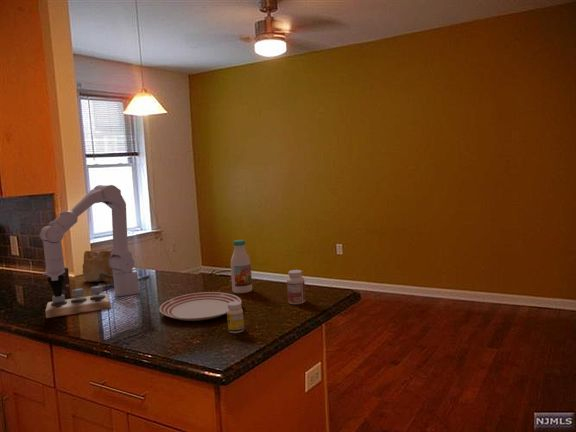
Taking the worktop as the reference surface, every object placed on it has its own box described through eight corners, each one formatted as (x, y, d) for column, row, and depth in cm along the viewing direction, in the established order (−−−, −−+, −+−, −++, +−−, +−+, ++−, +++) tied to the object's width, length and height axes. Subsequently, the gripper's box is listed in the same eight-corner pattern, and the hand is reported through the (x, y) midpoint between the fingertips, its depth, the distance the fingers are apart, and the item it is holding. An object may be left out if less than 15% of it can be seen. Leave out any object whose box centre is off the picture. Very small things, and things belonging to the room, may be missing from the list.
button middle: (84, 293, 175) (83, 287, 175) (84, 295, 172) (83, 290, 171) (72, 294, 174) (71, 289, 174) (72, 297, 170) (71, 292, 170)
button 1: (65, 299, 173) (64, 293, 173) (64, 301, 169) (64, 296, 169) (53, 300, 171) (52, 295, 171) (52, 303, 168) (51, 298, 168)
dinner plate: (258, 309, 161) (257, 299, 160) (190, 333, 141) (189, 322, 141) (210, 296, 180) (209, 287, 180) (144, 315, 161) (143, 305, 160)
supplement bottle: (228, 328, 143) (226, 301, 142) (244, 327, 143) (242, 300, 142) (228, 334, 138) (226, 306, 137) (244, 332, 138) (242, 305, 137)
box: (54, 300, 185) (51, 270, 183) (53, 298, 188) (50, 268, 187) (71, 297, 188) (68, 268, 187) (69, 295, 192) (66, 266, 190)
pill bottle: (296, 298, 170) (295, 268, 169) (309, 301, 166) (307, 270, 164) (284, 302, 166) (282, 271, 165) (296, 306, 161) (295, 274, 160)
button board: (109, 299, 182) (108, 292, 182) (110, 307, 171) (110, 299, 171) (48, 308, 174) (47, 300, 173) (46, 318, 163) (45, 309, 162)
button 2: (102, 290, 178) (102, 285, 178) (103, 292, 174) (102, 287, 174) (91, 292, 176) (90, 286, 176) (91, 294, 173) (90, 289, 172)
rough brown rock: (141, 281, 213) (139, 248, 212) (106, 287, 200) (105, 251, 199) (113, 277, 227) (111, 246, 227) (79, 282, 214) (78, 249, 214)
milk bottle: (228, 293, 182) (225, 242, 180) (238, 287, 189) (235, 238, 187) (246, 294, 179) (243, 242, 177) (255, 289, 186) (252, 238, 184)
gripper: (43, 257, 174) (47, 293, 175) (39, 264, 160) (44, 303, 162) (64, 254, 176) (68, 290, 178) (62, 261, 163) (66, 299, 165)
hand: (58, 296), depth 170 cm, fingers closed, pressing on button 1
